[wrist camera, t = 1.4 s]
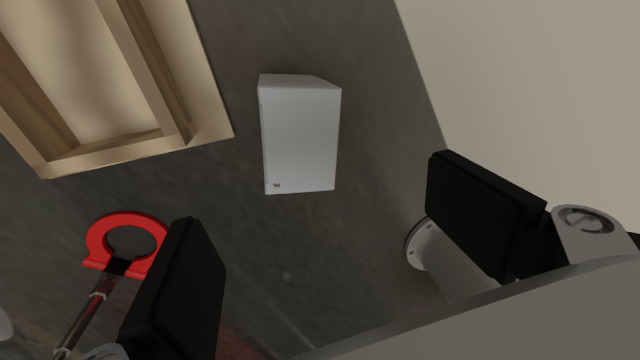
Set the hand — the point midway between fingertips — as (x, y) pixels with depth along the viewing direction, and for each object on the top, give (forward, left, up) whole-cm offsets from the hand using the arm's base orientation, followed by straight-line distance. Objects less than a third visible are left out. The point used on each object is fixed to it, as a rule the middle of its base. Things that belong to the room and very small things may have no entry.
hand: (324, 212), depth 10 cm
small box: (0, 0, -19) cm, 19 cm away
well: (+15, -7, -19) cm, 25 cm away
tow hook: (+22, +11, -19) cm, 31 cm away
